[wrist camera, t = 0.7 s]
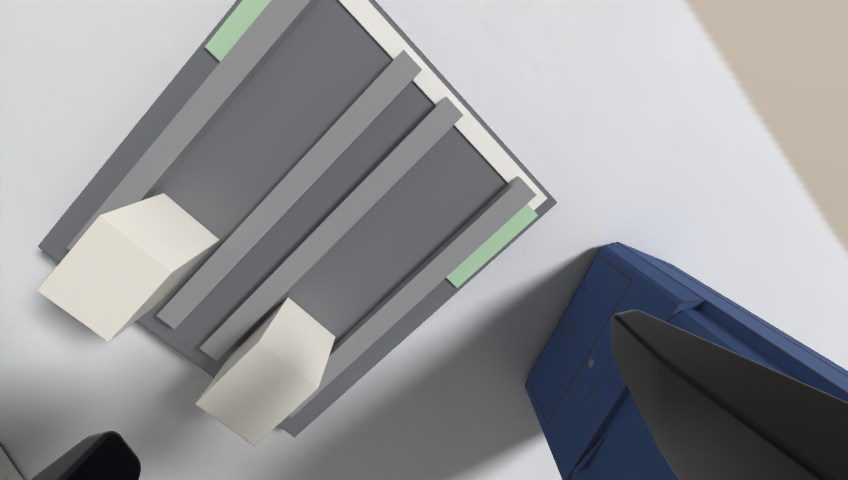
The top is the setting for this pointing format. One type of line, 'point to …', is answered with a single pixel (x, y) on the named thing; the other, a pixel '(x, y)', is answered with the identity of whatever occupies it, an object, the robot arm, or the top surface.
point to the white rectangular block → (127, 264)
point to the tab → (269, 373)
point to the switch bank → (315, 185)
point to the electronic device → (602, 381)
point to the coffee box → (7, 468)
